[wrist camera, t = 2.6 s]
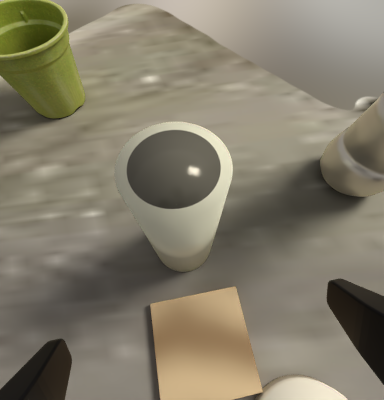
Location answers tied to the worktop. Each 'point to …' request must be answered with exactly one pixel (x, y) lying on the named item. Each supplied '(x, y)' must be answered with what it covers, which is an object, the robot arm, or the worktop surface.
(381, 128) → the plastic bottle
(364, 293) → the robot arm
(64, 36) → the plant pot
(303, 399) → the ivory rounded dome part
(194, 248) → the tumbler
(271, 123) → the worktop surface
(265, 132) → the worktop surface
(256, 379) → the coaster
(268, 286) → the worktop surface
